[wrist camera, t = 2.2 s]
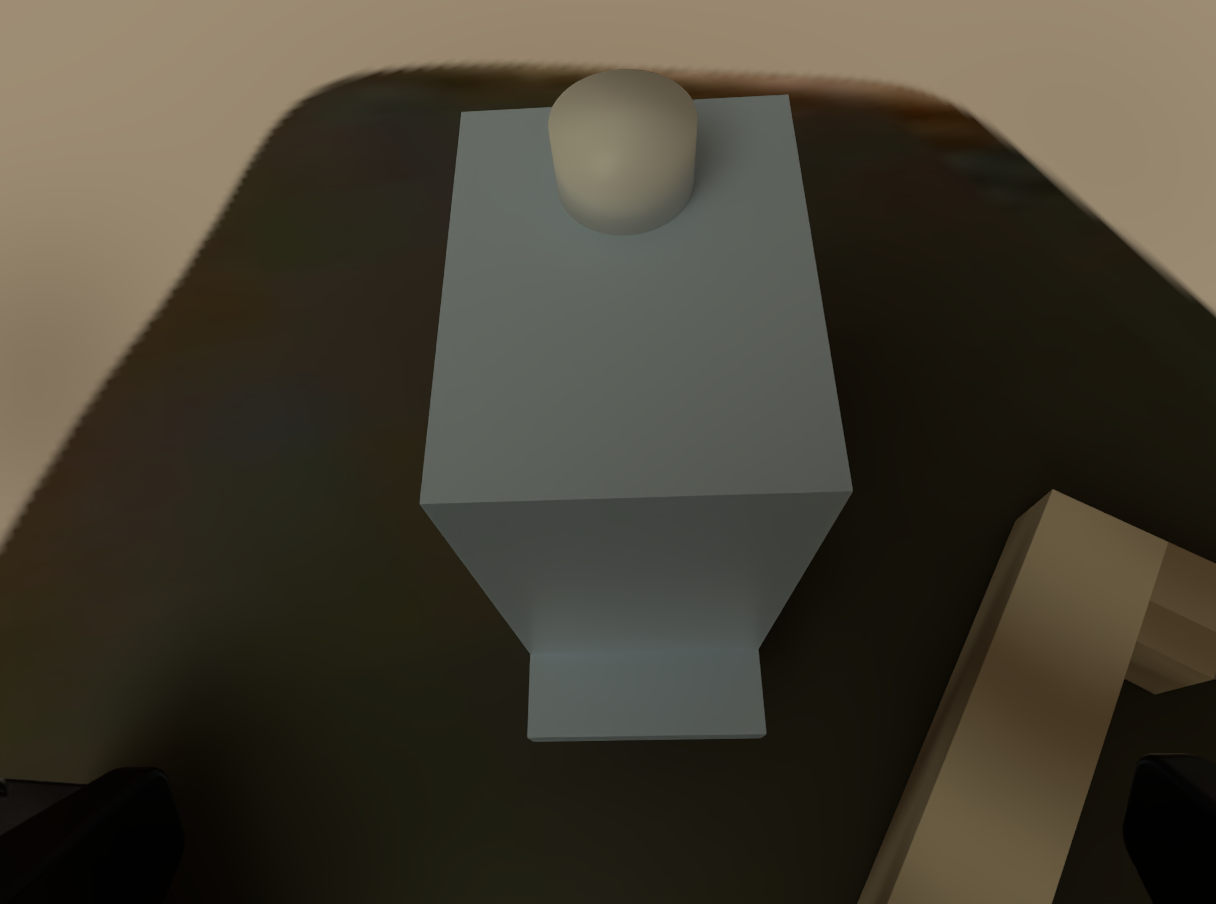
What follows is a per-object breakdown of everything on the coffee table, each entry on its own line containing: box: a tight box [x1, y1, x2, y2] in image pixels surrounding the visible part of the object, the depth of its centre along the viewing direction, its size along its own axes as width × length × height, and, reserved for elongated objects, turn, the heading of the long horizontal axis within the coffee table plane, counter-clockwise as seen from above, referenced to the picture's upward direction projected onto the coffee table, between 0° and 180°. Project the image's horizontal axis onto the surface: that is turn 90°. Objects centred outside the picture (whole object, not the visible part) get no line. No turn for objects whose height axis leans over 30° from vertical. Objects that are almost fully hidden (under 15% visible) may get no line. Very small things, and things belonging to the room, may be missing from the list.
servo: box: [420, 69, 853, 742], centre depth 14 cm, size 9×5×12 cm, turn 1°
